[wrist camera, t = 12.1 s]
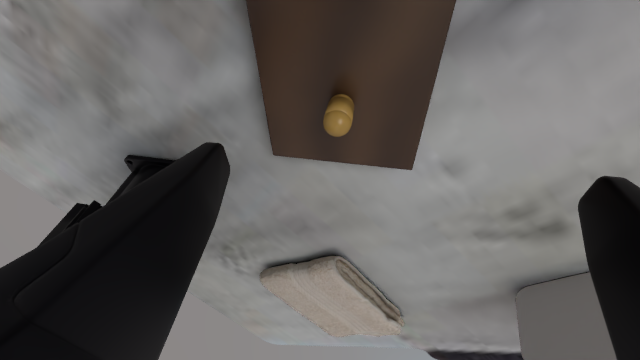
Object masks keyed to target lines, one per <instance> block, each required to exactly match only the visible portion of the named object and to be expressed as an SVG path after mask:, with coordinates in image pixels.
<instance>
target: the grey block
mask: <svg viewBox="0 0 640 360" xmlns="http://www.w3.org/2000/svg"><path fill="white" fill-rule="evenodd" d="M515 301H516V310H517V319H518V329H519V337H520V346H521V353H522V357H523V359H524V360H617V358H616V355H615V352H614V349H613V346H612V342H611V339H610V336H609V333H608V329H607V326H606V323H605V320H604V317H603V313H602V310H601V307H600V304H599V301H598V297H597V294H596V291H595V288H594V284H593V281H592V278H591V274H590V272H588V273H584V274H579V275H575V276H570V277H566V278H561V279H557V280H553V281H548V282H544V283H540V284H535V285H531V286H527V287H525V288H523V289H521V290H520V291H519V292H518V294H517V295H516V299H515Z"/></svg>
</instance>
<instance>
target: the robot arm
mask: <svg viewBox="0 0 640 360" xmlns="http://www.w3.org/2000/svg"><path fill="white" fill-rule="evenodd" d="M124 161H125V163H126V164H127V166H128V167H129V169H130V170H131V172H132V173H131V174H130V175H129V177H128V178H127V179H126V180H125V182H124V183H123V184H122V185H121V186H120V188H119V189H118V190H117V191H116V193H115V194H114V195H113V196H112V197H111V199H110V200H109V201H108V202H107V204H106V205H105V206H103V207H102V206H101V204H100V203H98V202H96V201H95V200H94V201H93V202H92V203H91V204H90V205H87V204H86V205H85V204H80V203H77V204H76V205H75V206H74V207H73V208H72V209H71V210H70V211H69V212H68V214H67V215H66V216H65V217H64V218H63V219H62V220H61V221H60V223H59V224H58V225H57V226H56V227H55V228H54V229H53V230H52V231H51V232H50V233H49V235H48V236H47V237H46V238H45V239H44V240H43V241H42V242H41V243H40V245H39V246H38V247H37V248H35V249H34V250H32V251H30V252H28V253H26V254H25V255H23V256H21V257H19V258H18V259H16V260H14V261H12V262H11V263H9V264H7V265H5V266H3V267H2V268H0V360H158V359H159V356H160V354H161V351H162V349H163V347H164V344H165V342H166V340H167V337H168V335H169V332H170V330H171V328H172V325H173V323H174V321H175V318H176V316H177V313H178V311H179V309H180V306H181V304H182V301H183V299H184V297H185V294H186V292H187V290H188V287H189V285H190V282H191V280H192V278H193V275H194V273H195V270H196V268H197V266H198V263H199V261H200V259H201V256H202V254H203V251H204V249H205V247H206V244H207V242H208V240H209V237H210V235H211V232H212V230H213V227H214V225H215V222H216V219H217V216H218V213H219V210H220V206H221V203H222V199H223V196H224V192H225V189H226V185H227V182H228V178H229V175H230V165H229V162H228V159H227V156H226V153H225V150H224V147H223V146H222V144H220V143H212V142H206V143H204V144H202V145H201V146H199V147H197V148H196V149H194V150H193V151H191V152H189V153H188V154H186V155H185V156H183V157H181V158H180V159H178V160H168V159H159V158H151V157H142V156H133V155H128V156H127V157H126V158H125V159H124ZM578 212H579V218H580V223H581V229H582V235H583V240H584V246H585V252H586V257H587V262H588V267H589V271H590V274H591V278H592V281H593V284H594V288H595V291H596V294H597V297H598V301H599V304H600V307H601V310H602V313H603V317H604V320H605V323H606V326H607V329H608V333H609V336H610V339H611V342H612V346H613V349H614V352H615V355H616V358H617V360H640V188H639V187H638V186H636V185H635V184H633V183H632V182H630V181H629V180H627V179H625V178H621V177H610V176H603V177H600V178H598V179H597V180H596V181H595V182H594V183H593V185H592V186H591V187H590V188H589V189H588V190H587V192H586V193H585V194H584V195H583V196H582V198H581V199H580V201H579V204H578Z"/></svg>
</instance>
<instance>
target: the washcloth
mask: <svg viewBox="0 0 640 360" xmlns="http://www.w3.org/2000/svg"><path fill="white" fill-rule="evenodd" d="M260 281H261V282H262V285H263V286H264V287H266V288H267V289H268V290H269V291H270V292H272V293H273V294H274V295H276V296H277V297H279V298H280V299H282V300H283V301H284V302H285V303H287V305H289V306H290V307H291V308H293V309H294V310H295V311H297V312H299V313H300V314H302V316H304V317H306V318H307V319H308V320H310V321H312V322H313V323H314V324H316V325H317V326H319V327H320V328H321V329H323V330H324V331H325V332H327V333H328V334H329V335H331V336H334V337H344V336H349V335H355V334H363V335H370V336H386V335H399V334H400V333H401V327H403V326H404V321H403V319H401V318H400V311H399V310H398V309H397V307H395V306H394V305H393V304H392V303H391V302H389V301H388V300H387V299H386V298H385V297H384V296H383V294H382V293H381V292H380V291H379V290H378V289H377V288H376V287H375V286H374V285H373V284H371V283H370V282H369V281H368V280H367V279H366V278H365V277H364V276H363V275H362V274H361V273H360V272H358V270H357V269H356V268H355V267H354V266H353V265H352V264H350V263H349V262H348V261H347V260H346V259H344V258H342V257H339V256H338V257H337V256H328V257H322V258H319V259H313V260H312V261H309V262H303V263H298V264H292V263H290V264H286V265H282V266H276V267H273V268H268V269H265V270H263V271H262V272H261V273H260Z"/></svg>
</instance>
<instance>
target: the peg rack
mask: <svg viewBox="0 0 640 360" xmlns="http://www.w3.org/2000/svg"><path fill="white" fill-rule="evenodd" d="M246 3H247V9H248V14H249V20H250V26H251V31H252V37H253V43H254V48H255V54H256V60H257V65H258V71H259V77H260V82H261V88H262V94H263V99H264V105H265V111H266V116H267V122H268V128H269V133H270V139H271V145H272V150H273V155H276V156H285V157H294V158H304V159H313V160H322V161H332V162H341V163H350V164H360V165H369V166H378V167H388V168H397V169H406V170H412V168H413V164H414V160H415V156H416V152H417V149H418V145H419V141H420V137H421V133H422V129H423V126H424V122H425V118H426V114H427V110H428V106H429V103H430V99H431V95H432V91H433V87H434V83H435V79H436V76H437V72H438V68H439V64H440V60H441V56H442V53H443V49H444V45H445V41H446V37H447V33H448V30H449V26H450V22H451V18H452V14H453V10H454V6H455V3H456V0H246Z"/></svg>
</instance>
